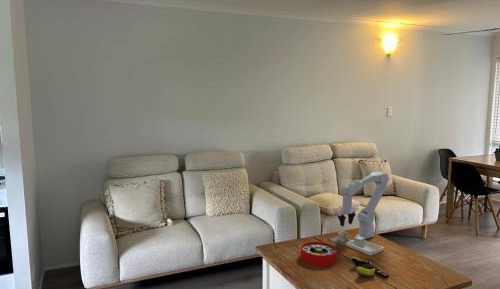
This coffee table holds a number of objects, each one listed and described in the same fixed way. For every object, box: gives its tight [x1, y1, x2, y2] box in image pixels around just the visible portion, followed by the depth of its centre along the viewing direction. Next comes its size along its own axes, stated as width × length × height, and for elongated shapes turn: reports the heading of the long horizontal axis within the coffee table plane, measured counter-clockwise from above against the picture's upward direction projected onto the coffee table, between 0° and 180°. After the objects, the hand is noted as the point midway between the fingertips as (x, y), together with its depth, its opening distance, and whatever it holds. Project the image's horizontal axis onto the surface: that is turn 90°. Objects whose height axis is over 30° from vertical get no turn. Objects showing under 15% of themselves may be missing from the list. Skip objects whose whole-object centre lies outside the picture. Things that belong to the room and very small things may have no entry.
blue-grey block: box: [353, 235, 366, 247], centre depth 229 cm, size 4×4×5 cm
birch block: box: [337, 230, 349, 242], centre depth 237 cm, size 4×4×5 cm
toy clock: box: [300, 241, 338, 267], centre depth 212 cm, size 20×6×20 cm
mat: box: [328, 235, 353, 246], centre depth 237 cm, size 12×12×1 cm
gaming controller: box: [350, 256, 376, 278], centre depth 195 cm, size 15×6×10 cm
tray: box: [345, 239, 385, 257], centre depth 226 cm, size 18×13×2 cm
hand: (346, 224), depth 240 cm, fingers open, 7 cm apart
